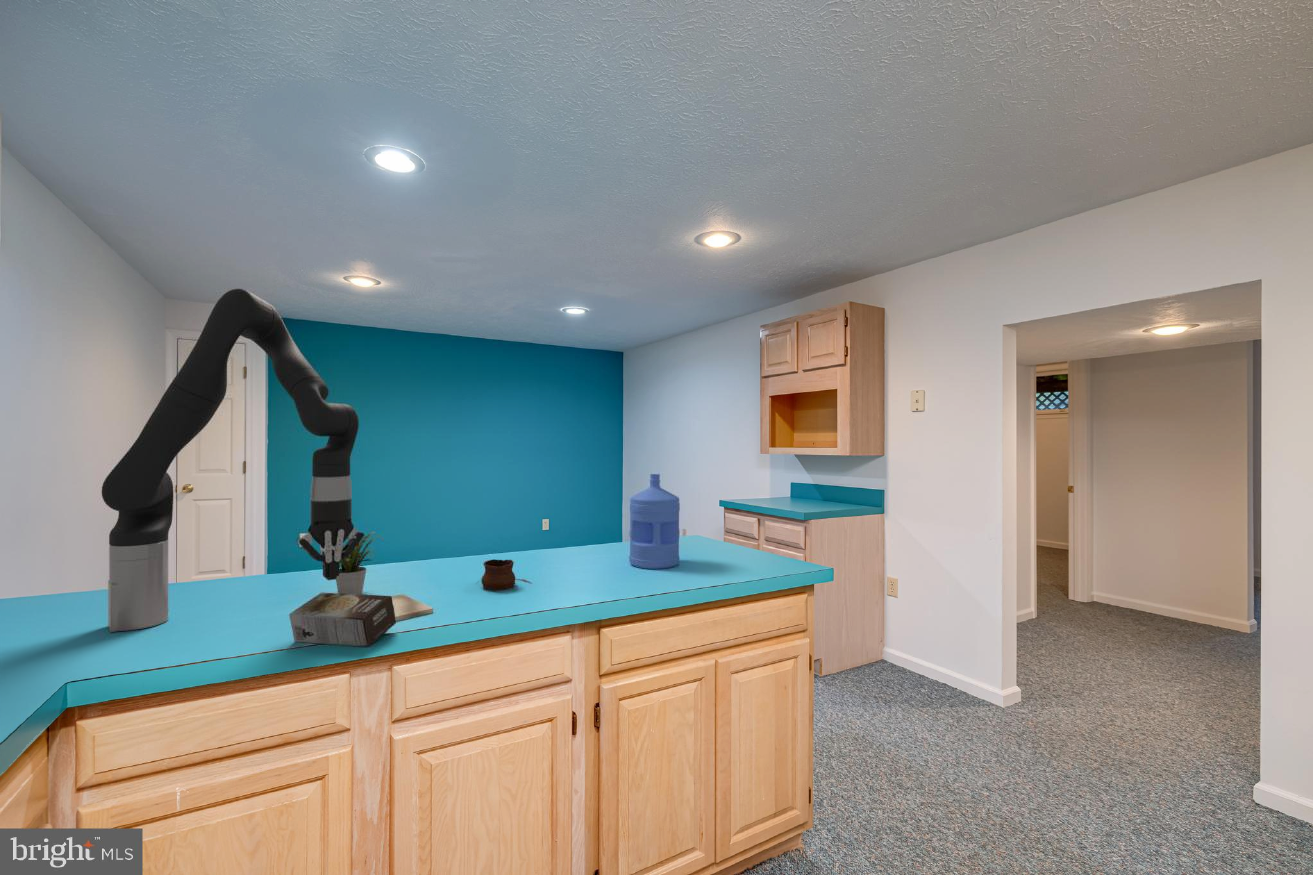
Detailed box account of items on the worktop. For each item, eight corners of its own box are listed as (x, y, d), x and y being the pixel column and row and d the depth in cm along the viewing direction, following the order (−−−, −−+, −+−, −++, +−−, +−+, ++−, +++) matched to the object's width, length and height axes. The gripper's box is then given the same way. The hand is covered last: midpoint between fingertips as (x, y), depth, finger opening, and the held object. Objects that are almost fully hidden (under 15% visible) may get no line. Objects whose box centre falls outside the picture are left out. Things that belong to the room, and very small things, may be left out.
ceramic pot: (519, 575, 164) (519, 551, 164) (543, 591, 149) (543, 564, 149) (454, 585, 154) (454, 559, 154) (473, 603, 139) (472, 574, 139)
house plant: (394, 585, 152) (394, 523, 152) (378, 600, 139) (378, 533, 138) (336, 587, 150) (336, 524, 150) (314, 603, 136) (314, 534, 136)
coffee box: (321, 590, 118) (393, 593, 116) (326, 618, 120) (397, 622, 118) (287, 613, 110) (364, 618, 107) (293, 643, 111) (369, 648, 109)
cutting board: (341, 633, 116) (341, 628, 116) (316, 615, 127) (316, 611, 127) (433, 612, 130) (433, 608, 130) (403, 598, 141) (403, 594, 141)
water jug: (627, 558, 187) (628, 472, 186) (675, 557, 188) (676, 472, 188) (630, 570, 171) (631, 476, 171) (682, 569, 173) (683, 476, 173)
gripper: (301, 501, 114) (301, 588, 114) (371, 496, 124) (370, 576, 124) (290, 498, 119) (290, 581, 119) (358, 493, 129) (357, 570, 129)
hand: (331, 579), depth 122 cm, fingers closed
